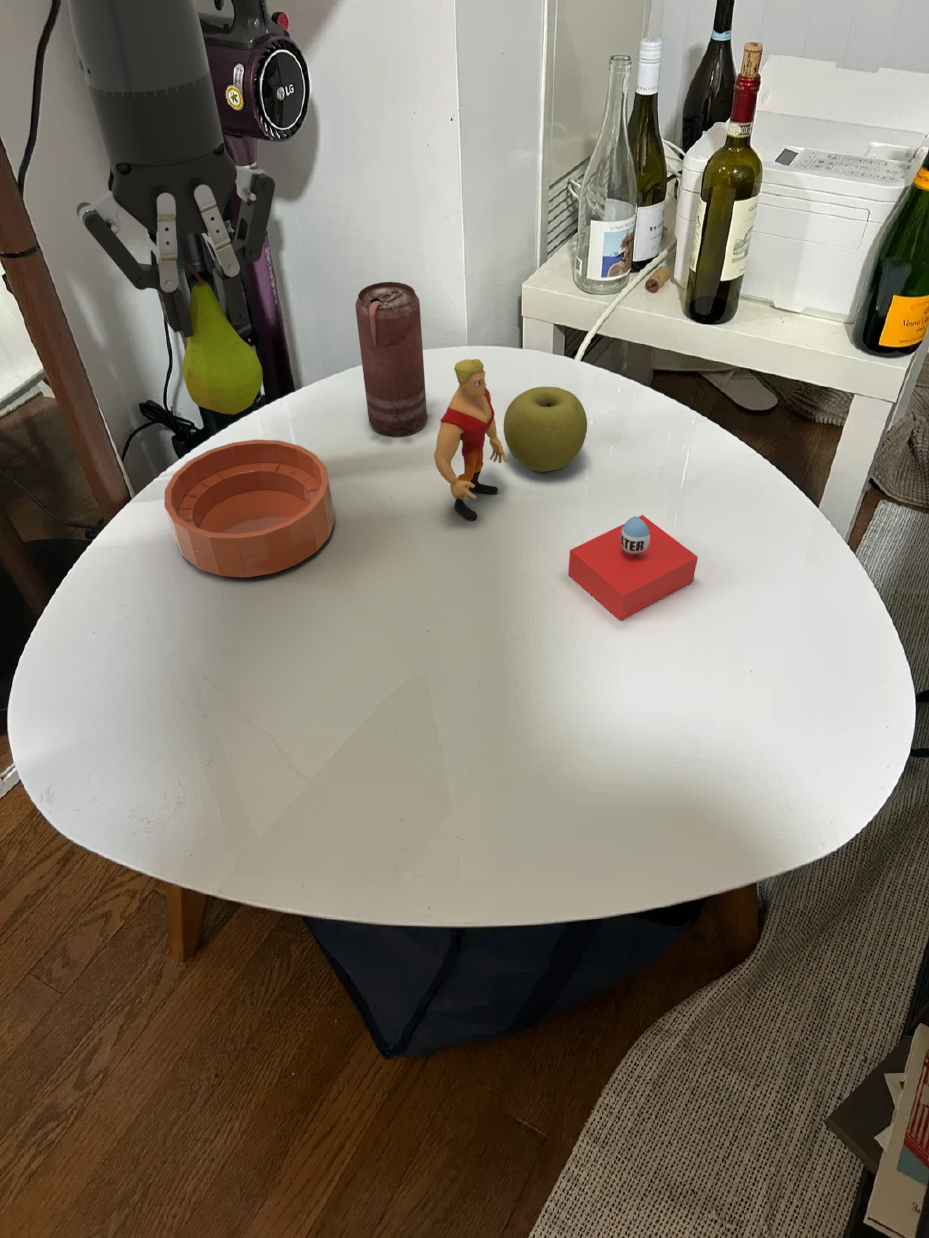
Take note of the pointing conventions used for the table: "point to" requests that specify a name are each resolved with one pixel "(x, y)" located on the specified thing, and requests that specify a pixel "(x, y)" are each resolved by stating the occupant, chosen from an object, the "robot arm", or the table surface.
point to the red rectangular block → (632, 566)
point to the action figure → (467, 435)
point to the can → (392, 357)
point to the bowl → (250, 507)
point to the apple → (545, 428)
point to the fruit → (217, 357)
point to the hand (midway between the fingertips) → (208, 325)
